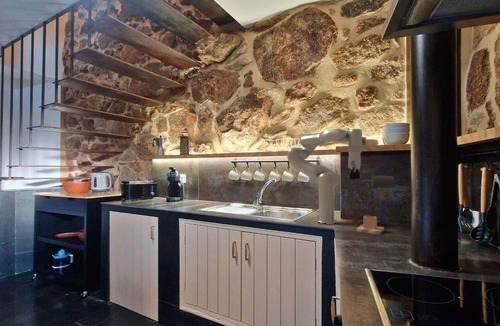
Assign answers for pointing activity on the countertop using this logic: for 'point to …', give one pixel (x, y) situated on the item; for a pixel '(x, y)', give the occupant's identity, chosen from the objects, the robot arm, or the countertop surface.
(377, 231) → the post base
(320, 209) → the robot arm
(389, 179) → the rubber mallet
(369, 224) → the orange brown cube
